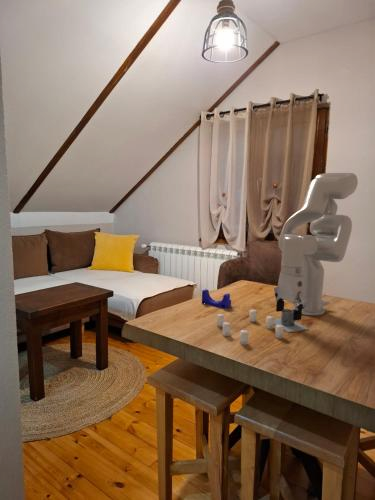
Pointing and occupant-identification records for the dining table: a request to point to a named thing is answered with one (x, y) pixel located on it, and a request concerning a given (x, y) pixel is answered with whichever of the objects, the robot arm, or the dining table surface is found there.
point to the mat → (291, 328)
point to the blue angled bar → (222, 304)
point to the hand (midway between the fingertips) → (288, 315)
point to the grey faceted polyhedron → (287, 317)
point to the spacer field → (244, 332)
